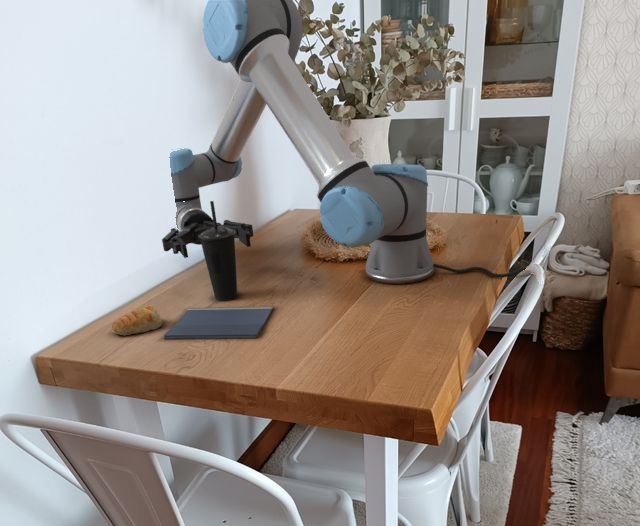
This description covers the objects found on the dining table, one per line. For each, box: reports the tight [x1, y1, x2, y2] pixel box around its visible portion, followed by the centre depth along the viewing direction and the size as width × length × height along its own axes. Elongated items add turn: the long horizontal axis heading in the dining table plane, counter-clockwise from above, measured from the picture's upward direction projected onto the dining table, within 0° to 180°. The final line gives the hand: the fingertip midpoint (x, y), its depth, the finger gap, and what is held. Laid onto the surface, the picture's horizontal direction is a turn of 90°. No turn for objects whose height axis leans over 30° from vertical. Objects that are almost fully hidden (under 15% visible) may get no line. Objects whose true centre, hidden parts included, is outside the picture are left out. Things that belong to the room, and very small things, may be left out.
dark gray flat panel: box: [163, 306, 274, 340], centre depth 121 cm, size 18×15×1 cm
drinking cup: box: [198, 200, 238, 302], centre depth 129 cm, size 8×8×20 cm
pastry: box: [111, 304, 163, 336], centre depth 121 cm, size 9×7×4 cm
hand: (217, 245), depth 130 cm, fingers open, 13 cm apart
